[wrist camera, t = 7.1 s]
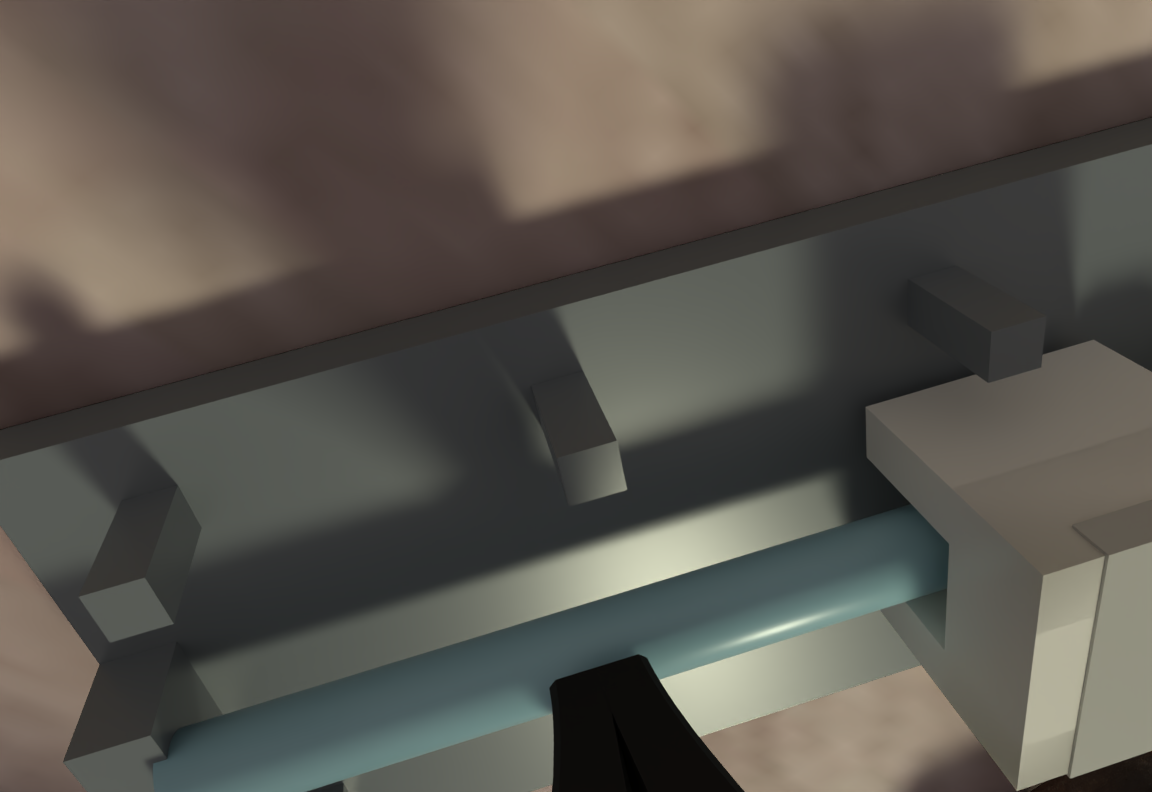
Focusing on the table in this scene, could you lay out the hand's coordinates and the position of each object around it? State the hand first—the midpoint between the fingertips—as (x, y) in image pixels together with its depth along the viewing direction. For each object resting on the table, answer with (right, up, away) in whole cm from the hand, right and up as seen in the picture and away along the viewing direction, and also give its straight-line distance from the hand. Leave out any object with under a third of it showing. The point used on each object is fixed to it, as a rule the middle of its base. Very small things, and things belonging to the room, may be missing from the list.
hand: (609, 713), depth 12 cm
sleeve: (+6, +3, +3) cm, 8 cm away
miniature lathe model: (+3, +3, +4) cm, 5 cm away
